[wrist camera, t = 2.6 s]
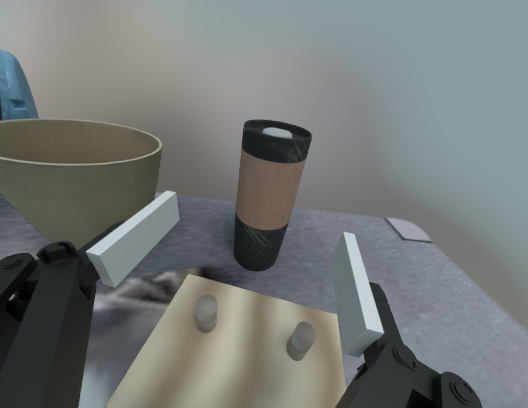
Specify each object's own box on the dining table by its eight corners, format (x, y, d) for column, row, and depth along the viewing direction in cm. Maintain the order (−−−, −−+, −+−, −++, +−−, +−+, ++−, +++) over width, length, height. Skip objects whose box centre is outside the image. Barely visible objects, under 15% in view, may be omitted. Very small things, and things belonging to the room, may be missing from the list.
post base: (-14, 610, 10) (-104, 661, 7) (189, 278, 26) (186, 254, 23) (385, 799, 8) (474, 965, 5) (334, 318, 25) (349, 297, 22)
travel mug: (286, 252, 33) (324, 133, 22) (260, 282, 27) (292, 144, 16) (252, 230, 36) (269, 117, 25) (222, 254, 31) (227, 121, 19)
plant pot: (62, 218, 31) (24, 110, 23) (166, 216, 37) (164, 130, 29) (-6, 306, 19) (-128, 150, 11) (162, 281, 25) (157, 169, 18)
